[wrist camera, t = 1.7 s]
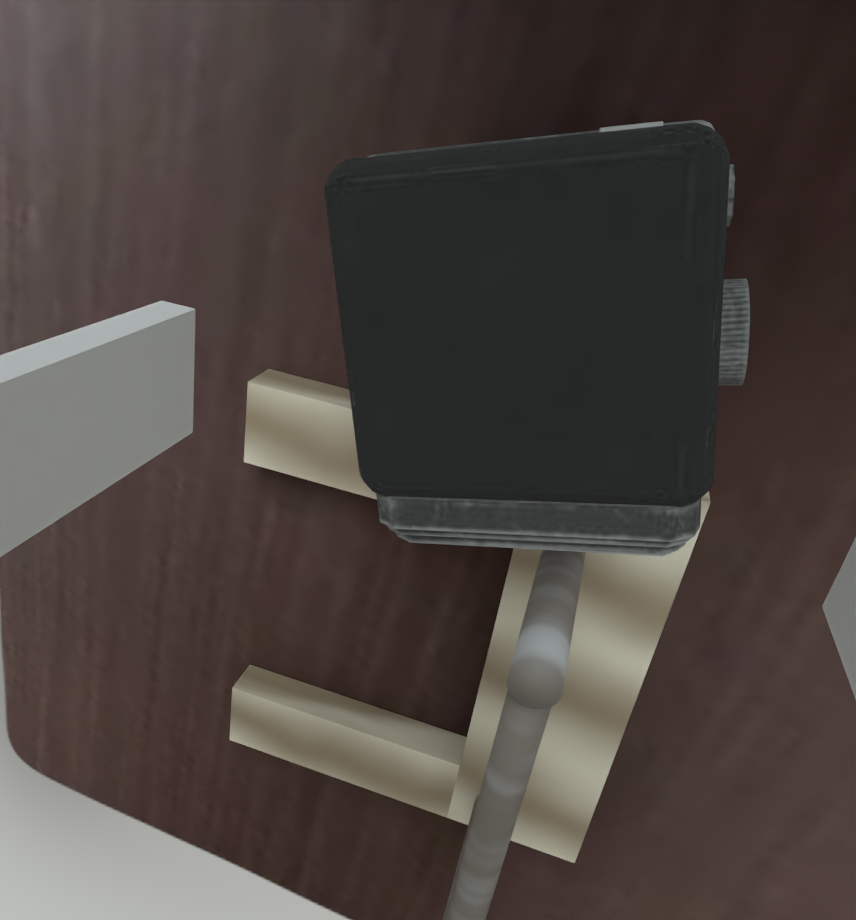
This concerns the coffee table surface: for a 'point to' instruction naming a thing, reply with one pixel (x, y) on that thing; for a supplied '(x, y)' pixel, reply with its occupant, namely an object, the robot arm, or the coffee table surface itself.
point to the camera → (540, 334)
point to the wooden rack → (502, 684)
